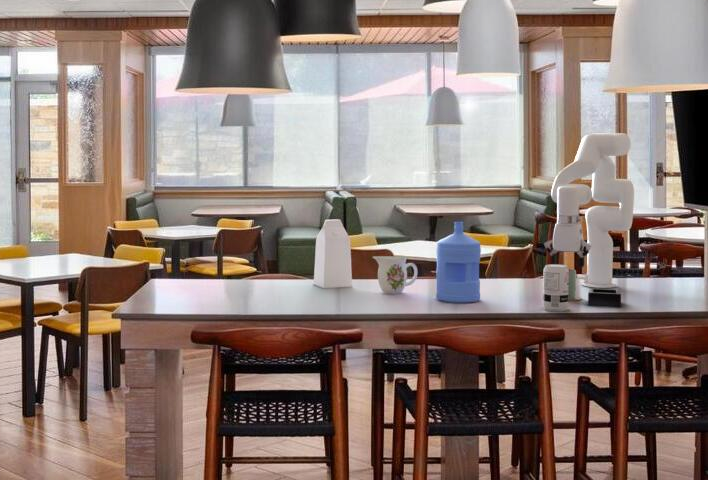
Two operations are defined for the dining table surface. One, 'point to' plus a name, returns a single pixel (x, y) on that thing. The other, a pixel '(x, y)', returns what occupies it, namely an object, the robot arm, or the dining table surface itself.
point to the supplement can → (555, 287)
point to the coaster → (575, 299)
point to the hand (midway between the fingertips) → (567, 267)
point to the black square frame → (604, 297)
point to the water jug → (458, 267)
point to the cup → (572, 284)
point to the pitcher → (393, 273)
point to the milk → (333, 256)
